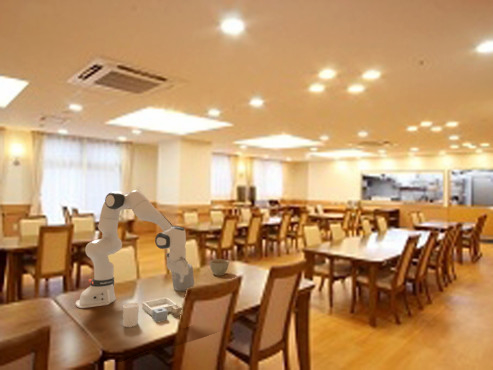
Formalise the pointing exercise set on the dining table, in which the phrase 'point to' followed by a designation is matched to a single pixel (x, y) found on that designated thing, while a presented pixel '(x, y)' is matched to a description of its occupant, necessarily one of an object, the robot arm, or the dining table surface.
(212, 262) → the planter bowl
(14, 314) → the dining table surface
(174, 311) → the maple block
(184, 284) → the jar
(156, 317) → the slate block
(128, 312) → the white cup
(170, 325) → the dining table surface
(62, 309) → the dining table surface
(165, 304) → the cream tray
